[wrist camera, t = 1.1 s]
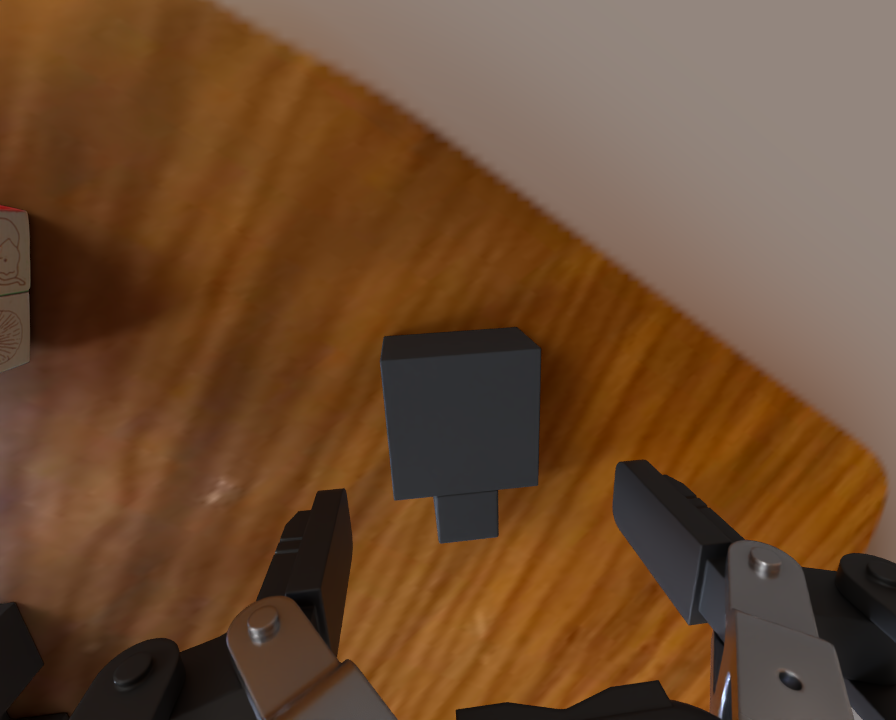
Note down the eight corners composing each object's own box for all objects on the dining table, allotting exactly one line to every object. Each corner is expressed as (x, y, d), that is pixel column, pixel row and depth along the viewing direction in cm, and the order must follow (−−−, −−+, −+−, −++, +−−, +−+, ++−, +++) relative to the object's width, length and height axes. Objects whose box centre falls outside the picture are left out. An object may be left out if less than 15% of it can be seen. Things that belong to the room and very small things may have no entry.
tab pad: (399, 498, 21) (399, 549, 18) (383, 336, 19) (379, 360, 15) (516, 486, 22) (537, 533, 18) (517, 326, 19) (541, 348, 16)
